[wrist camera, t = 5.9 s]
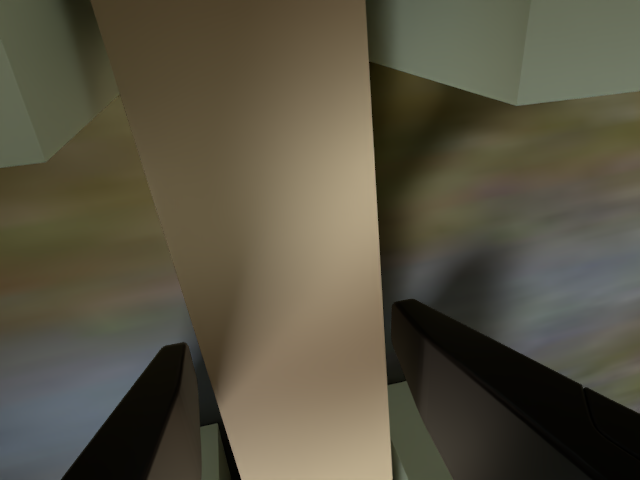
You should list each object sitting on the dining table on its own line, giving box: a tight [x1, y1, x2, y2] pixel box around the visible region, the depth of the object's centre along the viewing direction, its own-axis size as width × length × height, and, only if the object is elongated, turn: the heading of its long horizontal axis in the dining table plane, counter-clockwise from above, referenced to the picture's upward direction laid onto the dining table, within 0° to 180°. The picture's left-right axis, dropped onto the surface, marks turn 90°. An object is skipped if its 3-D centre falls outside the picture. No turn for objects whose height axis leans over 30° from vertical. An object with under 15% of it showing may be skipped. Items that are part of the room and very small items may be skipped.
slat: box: [90, 0, 393, 480], centre depth 9 cm, size 15×3×4 cm, turn 6°
